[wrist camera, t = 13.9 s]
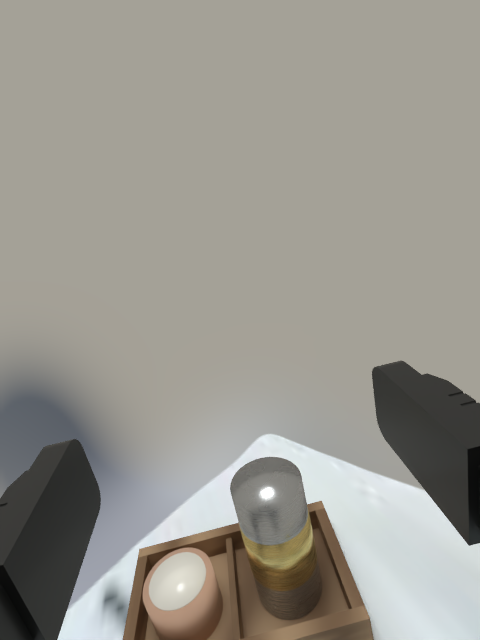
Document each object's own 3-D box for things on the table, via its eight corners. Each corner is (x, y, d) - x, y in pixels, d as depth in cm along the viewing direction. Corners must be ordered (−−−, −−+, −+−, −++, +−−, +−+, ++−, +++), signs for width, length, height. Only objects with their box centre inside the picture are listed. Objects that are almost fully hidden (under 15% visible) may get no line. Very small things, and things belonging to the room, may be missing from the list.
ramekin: (151, 660, 31) (136, 626, 30) (159, 586, 37) (147, 556, 36) (225, 640, 31) (213, 605, 30) (221, 570, 37) (211, 539, 36)
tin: (263, 629, 31) (233, 519, 28) (253, 563, 37) (227, 466, 34) (332, 610, 32) (311, 499, 28) (311, 548, 37) (291, 449, 34)
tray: (126, 713, 29) (113, 689, 28) (147, 569, 40) (139, 549, 39) (374, 644, 29) (369, 618, 28) (325, 522, 41) (321, 500, 40)
